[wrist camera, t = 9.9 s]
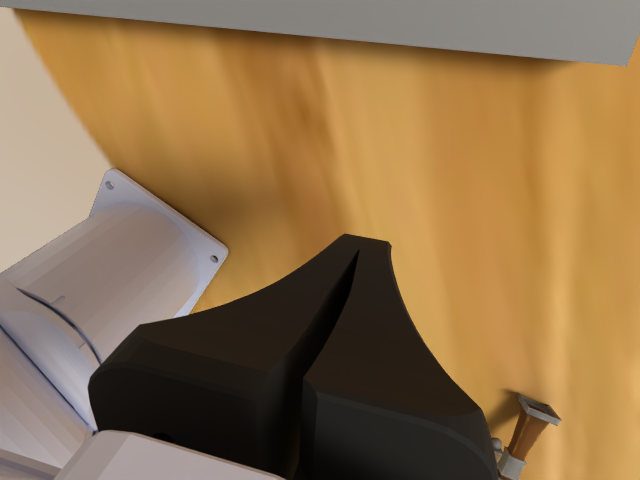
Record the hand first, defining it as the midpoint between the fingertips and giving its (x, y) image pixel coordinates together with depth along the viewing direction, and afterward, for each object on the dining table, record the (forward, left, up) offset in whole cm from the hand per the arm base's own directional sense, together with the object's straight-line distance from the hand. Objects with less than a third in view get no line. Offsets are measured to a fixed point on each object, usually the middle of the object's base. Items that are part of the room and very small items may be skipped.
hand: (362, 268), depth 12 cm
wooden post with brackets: (-9, -16, -10) cm, 21 cm away
